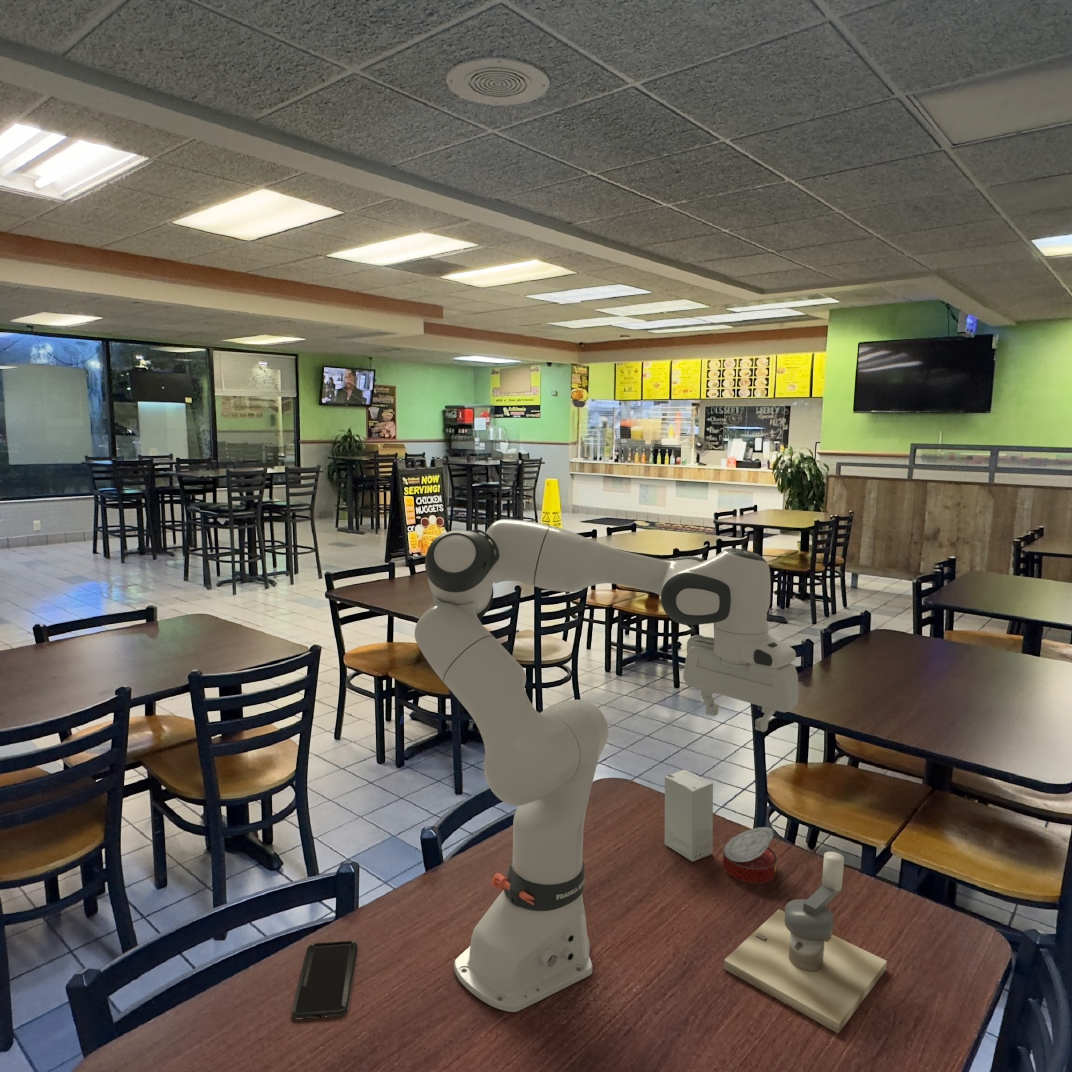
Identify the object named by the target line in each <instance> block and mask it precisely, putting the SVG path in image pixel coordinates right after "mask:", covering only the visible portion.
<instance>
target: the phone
mask: <svg viewBox="0 0 1072 1072" xmlns="http://www.w3.org/2000/svg"><path fill="white" fill-rule="evenodd" d="M357 955H358V943H357V942H356V941H354V940H347V941H345V940H343V941H331V942H317V943H316V942H315V943H312V944H310V945H308V946H307V948H306V952H305V954H304V960H303V965H302V968H301V973H300V976H299V979H298V983H297V987H296V988H297V989H296V993H295V995H294V1000H293V1004H292V1008H291V1014H292V1015H291V1016H292V1018H293V1017H294V1018H308V1017H309V1018H312V1019H315V1018H314V1017H315V1016H316V1017H319V1016H321V1017H324V1018H335V1016H337V1017H342V1016H345V1015H346V1014H347V1013H348V1011H349V1007H350V1003H351V1001H350V1000H351V995H352V987H353V981H354V975H355V967H356V961H357ZM325 1016H327V1017H325ZM329 1016H330V1017H329ZM332 1016H334V1017H332ZM294 1018H293V1019H294Z"/></svg>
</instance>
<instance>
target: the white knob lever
mask: <svg viewBox="0 0 1072 1072" xmlns="http://www.w3.org/2000/svg"><path fill="white" fill-rule="evenodd" d="M844 864H845V857H844V856H843V855H842V854H840V853H838V852H835V851H826V852H824V854H823V865H822V878H821V886H819V888H818V889H817V890H815V892H814V893H812V894H811V895H810V896H809V897H808V898H807V899H805V898H804V899H803V898H800V899H799V898H798V899H792V900H790V901H788V902H787V903H786V905H785V906H784V907H785V908H784V912H785V920H784V923H785V926H786V927H787V929H788V930H789V931H790V932H791V933H793V934H794V935H796V936H797V937H800V938H802V939H805V940H809V941H824V940H827V939H829V938H830V937H831V935H833V929H834V928H833V927H834V915H833V913H832V912H831V910H830V909H829V908H828V907H827V906H828V904H829V903H831V901H832V900H833V899H834V898H835V897H837V895H838V894H839V893H840V892H841V891H842V889H843V878H844V877H843V876H844V867H845V866H844Z"/></svg>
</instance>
